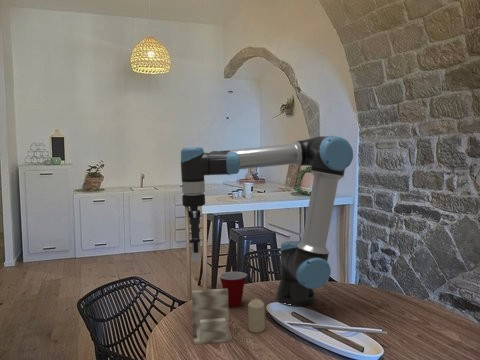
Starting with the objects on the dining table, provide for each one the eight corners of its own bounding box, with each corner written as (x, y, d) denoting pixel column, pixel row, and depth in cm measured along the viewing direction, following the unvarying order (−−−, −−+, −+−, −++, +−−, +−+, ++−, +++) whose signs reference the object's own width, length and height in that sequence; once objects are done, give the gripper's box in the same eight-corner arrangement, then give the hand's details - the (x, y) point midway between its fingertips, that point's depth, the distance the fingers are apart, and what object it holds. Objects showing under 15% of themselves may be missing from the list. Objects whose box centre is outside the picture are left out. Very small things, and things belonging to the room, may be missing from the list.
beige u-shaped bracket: (227, 324, 141) (227, 288, 140) (232, 341, 129) (231, 301, 128) (192, 326, 139) (192, 290, 138) (193, 344, 128) (193, 304, 126)
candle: (263, 333, 134) (263, 304, 133) (246, 332, 135) (246, 302, 134) (265, 326, 140) (265, 297, 139) (249, 324, 141) (249, 296, 140)
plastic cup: (244, 297, 165) (243, 268, 164) (250, 308, 154) (249, 277, 153) (217, 300, 163) (216, 270, 162) (221, 311, 152) (220, 279, 151)
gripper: (182, 189, 149) (184, 247, 151) (181, 199, 124) (184, 268, 126) (203, 188, 150) (205, 245, 152) (206, 198, 125) (208, 266, 127)
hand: (195, 256), depth 139 cm, fingers open, 13 cm apart
